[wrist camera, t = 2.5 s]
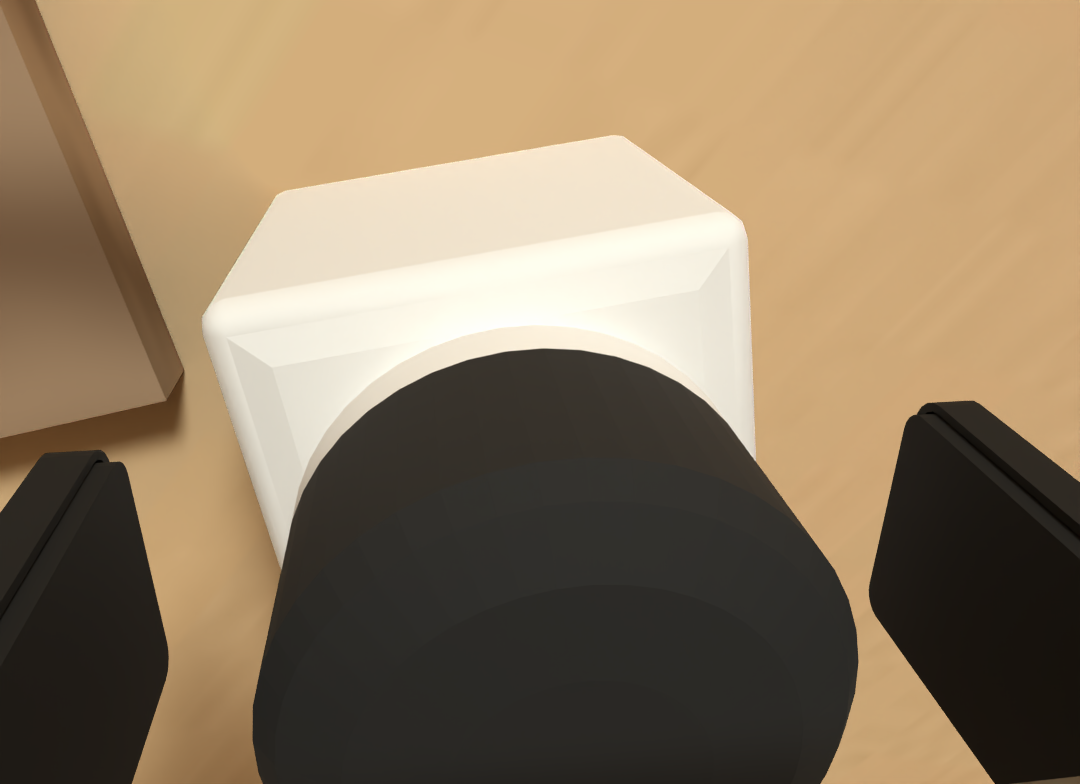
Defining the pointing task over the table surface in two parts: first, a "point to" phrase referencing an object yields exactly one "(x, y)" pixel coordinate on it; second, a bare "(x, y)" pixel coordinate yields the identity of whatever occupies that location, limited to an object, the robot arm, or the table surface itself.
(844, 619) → the medicine bottle
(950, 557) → the robot arm
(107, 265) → the walnut board
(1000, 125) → the table surface
